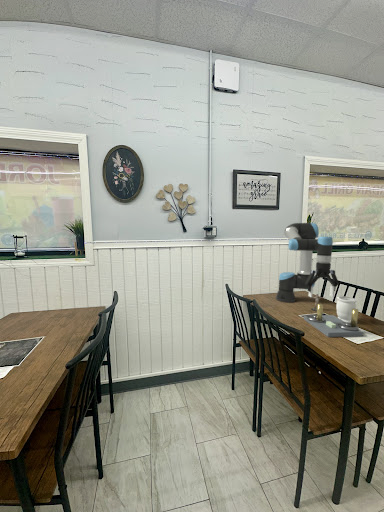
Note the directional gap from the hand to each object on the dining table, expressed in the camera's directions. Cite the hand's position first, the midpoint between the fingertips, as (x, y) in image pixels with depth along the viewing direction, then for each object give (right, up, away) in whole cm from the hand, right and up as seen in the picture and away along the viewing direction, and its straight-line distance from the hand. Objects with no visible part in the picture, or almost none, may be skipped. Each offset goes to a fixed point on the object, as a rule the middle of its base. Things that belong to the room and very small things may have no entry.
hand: (321, 296), depth 133 cm
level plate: (+6, -19, 0) cm, 20 cm away
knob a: (0, -16, +6) cm, 16 cm away
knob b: (+12, -17, -6) cm, 22 cm away
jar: (+22, -18, +10) cm, 30 cm away
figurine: (+14, -16, +29) cm, 35 cm away
